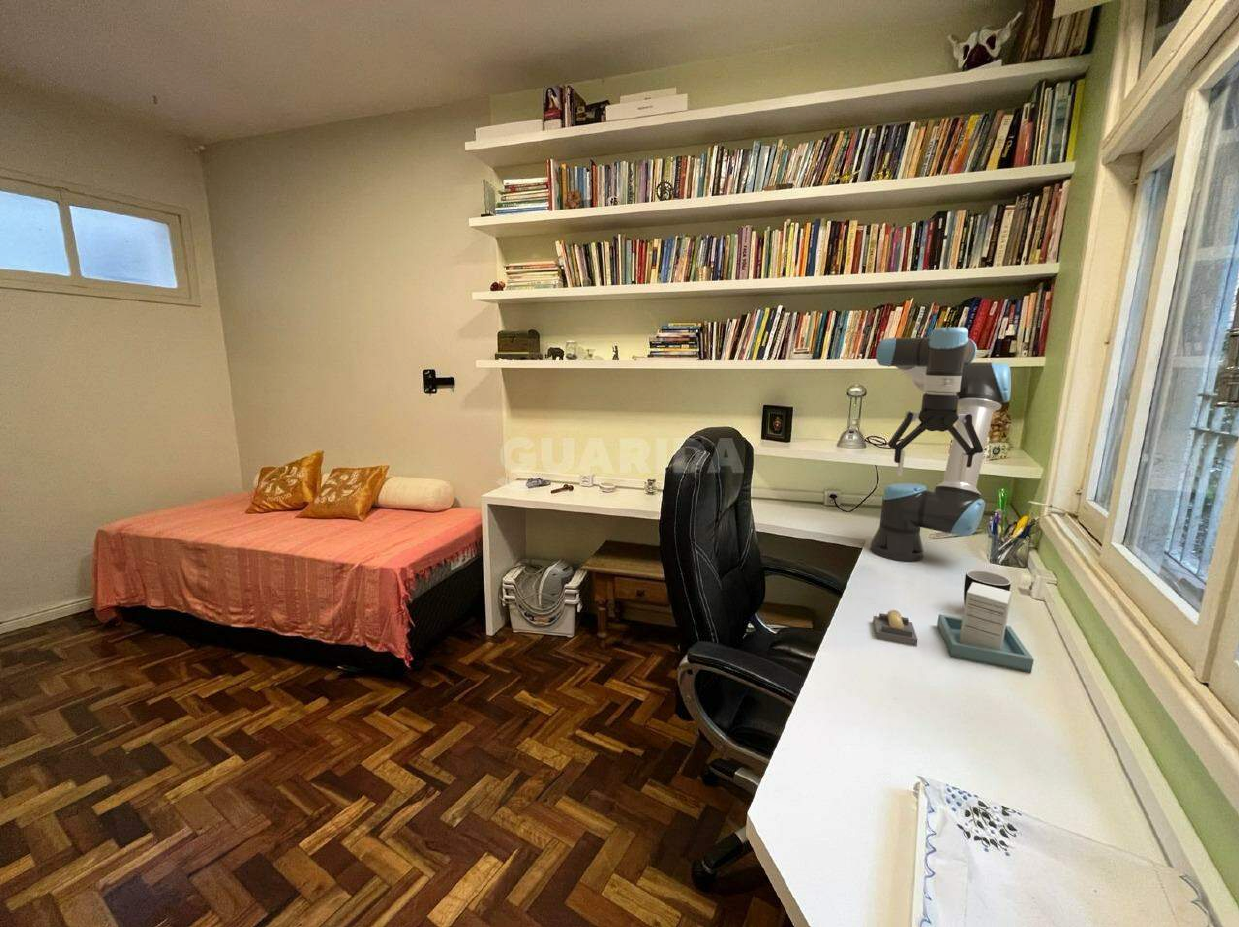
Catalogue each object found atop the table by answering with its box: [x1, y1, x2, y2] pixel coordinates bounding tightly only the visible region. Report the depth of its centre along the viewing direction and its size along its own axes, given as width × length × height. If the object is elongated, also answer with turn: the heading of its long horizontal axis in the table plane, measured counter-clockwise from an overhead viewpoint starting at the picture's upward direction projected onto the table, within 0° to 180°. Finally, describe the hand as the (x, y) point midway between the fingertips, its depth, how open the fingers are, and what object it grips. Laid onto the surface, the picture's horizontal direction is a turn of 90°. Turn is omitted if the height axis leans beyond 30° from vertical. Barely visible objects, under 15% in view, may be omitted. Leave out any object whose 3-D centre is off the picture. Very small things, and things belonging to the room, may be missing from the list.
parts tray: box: [936, 613, 1035, 674], centre depth 110 cm, size 14×14×3 cm
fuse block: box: [872, 609, 919, 647], centre depth 115 cm, size 8×8×4 cm
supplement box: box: [959, 582, 1013, 651], centre depth 109 cm, size 7×7×13 cm
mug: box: [963, 569, 1012, 606], centre depth 125 cm, size 12×9×10 cm
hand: (929, 477), depth 127 cm, fingers open, 13 cm apart
